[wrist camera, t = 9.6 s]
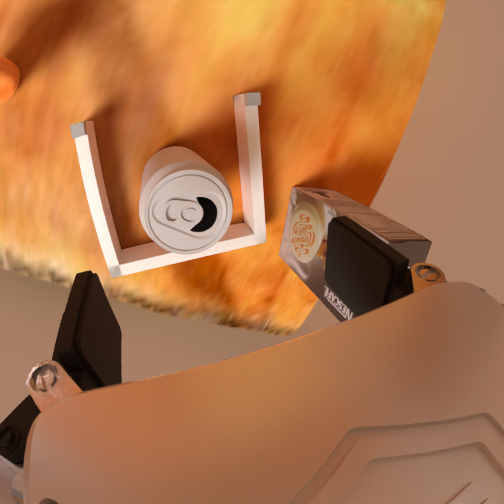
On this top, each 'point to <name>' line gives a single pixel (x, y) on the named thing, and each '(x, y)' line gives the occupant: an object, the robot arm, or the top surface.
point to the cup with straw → (8, 79)
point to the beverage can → (184, 201)
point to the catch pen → (152, 253)
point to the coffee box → (315, 239)
